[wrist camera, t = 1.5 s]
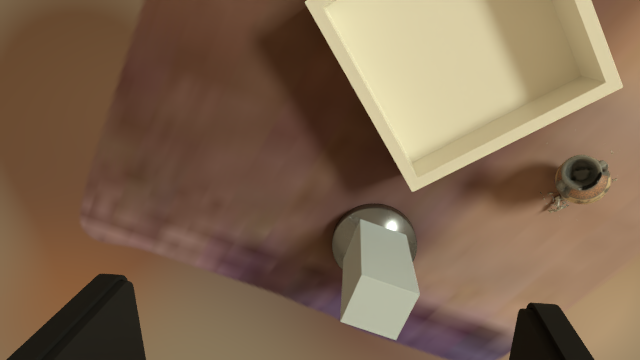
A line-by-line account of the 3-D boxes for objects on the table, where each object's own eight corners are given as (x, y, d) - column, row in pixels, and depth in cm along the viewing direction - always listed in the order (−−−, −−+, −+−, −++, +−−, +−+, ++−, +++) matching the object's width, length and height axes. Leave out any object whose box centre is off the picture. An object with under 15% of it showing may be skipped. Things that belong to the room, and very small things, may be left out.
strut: (387, 273, 37) (395, 339, 29) (343, 258, 37) (340, 321, 29) (406, 234, 35) (419, 294, 28) (360, 218, 35) (361, 274, 28)
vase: (509, 160, 33) (547, 184, 28) (573, 118, 32) (625, 134, 27) (544, 212, 35) (586, 245, 29) (606, 173, 34) (663, 199, 28)
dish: (406, 172, 34) (412, 192, 31) (310, 3, 30) (304, 2, 27) (590, 78, 31) (623, 87, 27) (510, -128, 27) (535, -151, 23)
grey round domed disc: (358, 287, 39) (358, 294, 38) (317, 226, 37) (316, 232, 36) (429, 255, 37) (431, 261, 36) (391, 189, 35) (392, 194, 34)
